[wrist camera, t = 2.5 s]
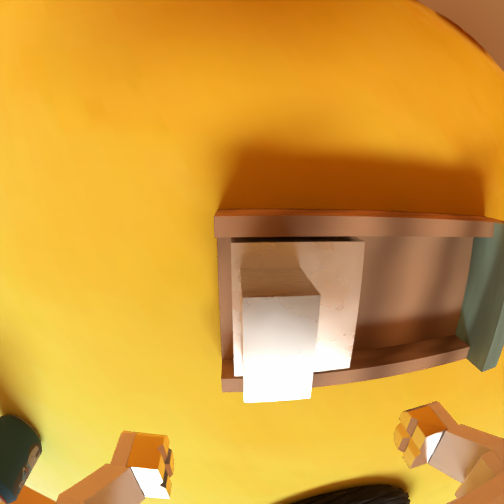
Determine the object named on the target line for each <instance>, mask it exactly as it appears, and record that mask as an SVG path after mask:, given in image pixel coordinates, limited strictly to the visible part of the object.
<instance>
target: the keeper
mask: <svg viewBox="0 0 504 504" xmlns="http://www.w3.org/2000/svg"><path fill="white" fill-rule="evenodd" d="M364 249H365V241H363V240H361V239H359V238H357V237H355V236H307V237H231V279H232V317H233V348H234V375H235V376H243V392H244V402H267V401H283V400H295V399H306V398H310V395H311V387H312V379H313V372H317V371H327V370H336V369H344V368H349V367H350V361H351V355H352V349H353V343H354V337H355V330H356V323H357V316H358V308H359V300H360V291H361V282H362V272H363V261H364Z"/></svg>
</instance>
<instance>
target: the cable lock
mask: <svg viewBox="0 0 504 504" xmlns="http://www.w3.org/2000/svg"><path fill="white" fill-rule="evenodd" d="M408 497H409V496H408V493H405V492H404V491H403V490H402V489H400V488H396V487H392V486H390V485H378V486H363V487H359V488H354V489H347V490H341V491H336V492H333V493H329V494H325V495H321V496H318V497H314V498H310V499H306V500H303V501H299V502H297V503H294V504H409V503H410V500H409V499H408Z"/></svg>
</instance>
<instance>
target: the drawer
mask: <svg viewBox="0 0 504 504" xmlns="http://www.w3.org/2000/svg"><path fill="white" fill-rule="evenodd" d="M214 231H215V238H217V248H218V280H219V305H220V327H221V346H222V375H221V381H222V392H243V376H235V375H234V348H233V317H232V279H231V237H307V236H355V237H357V238H359V239H361V240H363V241H365V249H364V261H363V272H362V282H361V291H360V300H359V308H358V316H357V323H356V330H355V337H354V343H353V349H352V355H351V361H350V367H349V368H344V369H336V370H327V371H317V372H313V379H312V387H321V386H330V385H338V384H345V383H353V382H359V381H366V380H372V379H378V378H383V377H389V376H394V375H399V374H404V373H409V372H414V371H418V370H423V369H427V368H431V367H435V366H439V365H443V364H447V363H451V362H455V361H458V360H462V359H465V358H467V359H468V360H469V361H470V362H471V363H472V364H473V365H475V366H476V367H477V368H478V369H479V370H480V371H481V372H483V371H486V370H489V369H491V368H494V367H496V365H497V362H498V359H499V357H500V354H501V351H502V348H503V345H504V221H501V220H497V219H493V218H488V217H482V216H468V215H454V214H438V213H419V212H398V211H371V210H333V209H220V210H217V212H216V214H215V216H214Z"/></svg>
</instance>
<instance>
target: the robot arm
mask: <svg viewBox="0 0 504 504" xmlns="http://www.w3.org/2000/svg"><path fill="white" fill-rule="evenodd" d="M399 420H400V421H401V423H400V424H399V425H398V426H397V427H396V428H395V431H394V442H395V445H396V447H397V449H398V450H400V451H402V452H404V453H403V459H404V461H405V462H406V464H407V466H408V467H409V469H411V468H414V467H417V466H420V465H423V464H425V463H428V462H429V463H428V464H429V465H431V466H433V467H435V468H436V469H438V470H440V471H441V472H443V473H445V474H446V475H448V476H450V477H452V478H454V479H455V480H457V481H459V482H461V483H462V484H461V485H460V487H459V488H458V489H457V491H456V493H455V495H456V497H457V499H455V500H453V501H451V502H449V503H447V504H504V439H503V438H500V437H497V436H494V435H491V434H488V433H485V432H482V431H479V430H476V429H474V428H471V427H468V426H465V425H463V424H460V425H458V424H457V423H456V421H455V420H454V419H453V418H452V417H451V416H450V414H449V413H448V412H447V411H446V410H445V409H444V408H443V406H442V405H441V404H440V403H439V402H437V401H435V402H432V403H429V404H426V405H423V406H419V407H416V408H413V409H409V410H406V411H403V412H402V413H401V415H400V418H399ZM173 470H174V458H173V453H172V450H171V449H169V439H168V436H166V435H158V434H148V433H140V432H131V431H123V432H122V433H121V435H120V438H119V441H118V443H117V446H116V449H115V452H114V455H113V458H112V461H111V463H110V464H105V465H104V466H102V467H101V468H99V469H98V470H96V471H95V472H93V473H92V474H90V475H89V476H87V477H86V478H84V479H83V480H81V481H80V482H78V483H77V484H75V485H74V486H72V487H71V488H69V489H67V490H66V491H64V492H63V493H61V494H59V496H58V499H57V501H56V503H55V504H140V503H141V502H142V501H143V500H144V499H145V497H153V498H165V499H170V492H171V485H172V484H171V481H170V478H169V477H171V476H172V475H173ZM0 504H6V503H4V502H2V501H0Z"/></svg>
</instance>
